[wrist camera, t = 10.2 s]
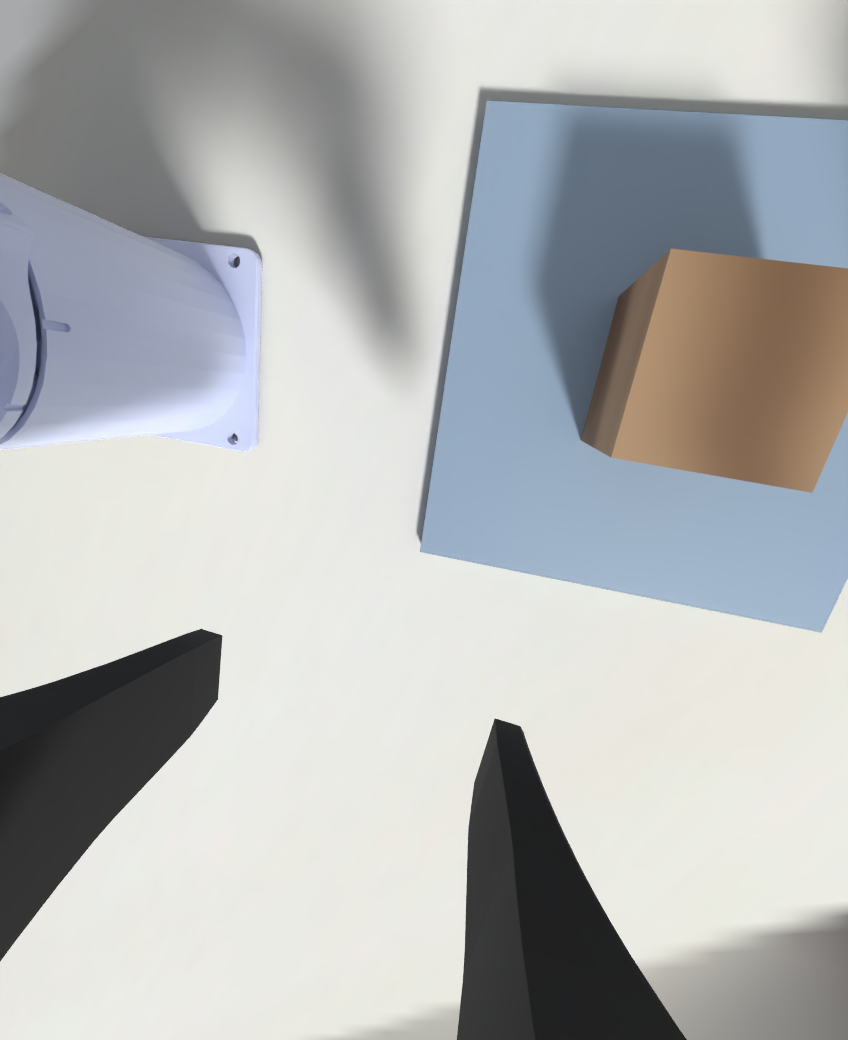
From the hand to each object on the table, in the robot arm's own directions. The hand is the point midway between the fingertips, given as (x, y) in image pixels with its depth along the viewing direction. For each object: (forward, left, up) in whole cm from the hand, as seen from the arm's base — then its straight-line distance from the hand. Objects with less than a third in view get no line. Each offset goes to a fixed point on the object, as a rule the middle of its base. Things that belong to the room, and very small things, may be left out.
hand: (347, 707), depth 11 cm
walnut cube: (+8, +9, -9) cm, 15 cm away
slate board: (+8, +9, -9) cm, 15 cm away
